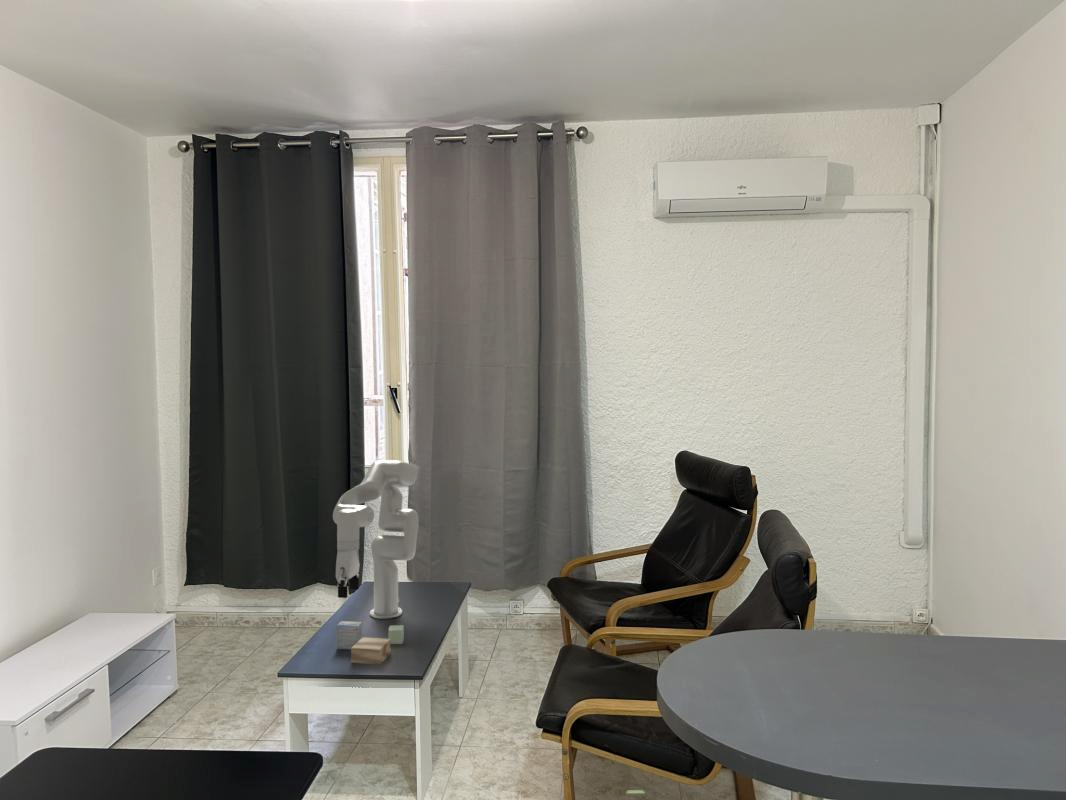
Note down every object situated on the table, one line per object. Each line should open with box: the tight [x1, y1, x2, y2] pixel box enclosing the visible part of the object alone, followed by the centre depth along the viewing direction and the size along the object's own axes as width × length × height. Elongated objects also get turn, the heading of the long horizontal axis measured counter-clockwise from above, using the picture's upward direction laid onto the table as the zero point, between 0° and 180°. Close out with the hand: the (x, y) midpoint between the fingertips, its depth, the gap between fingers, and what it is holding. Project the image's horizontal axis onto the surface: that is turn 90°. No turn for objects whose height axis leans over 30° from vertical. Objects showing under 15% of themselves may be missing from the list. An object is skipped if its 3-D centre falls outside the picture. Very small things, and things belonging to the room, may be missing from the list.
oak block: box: [350, 636, 392, 666], centre depth 254 cm, size 10×10×5 cm
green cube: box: [387, 624, 405, 645], centre depth 269 cm, size 5×5×5 cm
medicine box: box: [336, 620, 363, 650], centre depth 263 cm, size 8×4×9 cm, turn 84°
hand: (348, 593), depth 261 cm, fingers open, 9 cm apart
